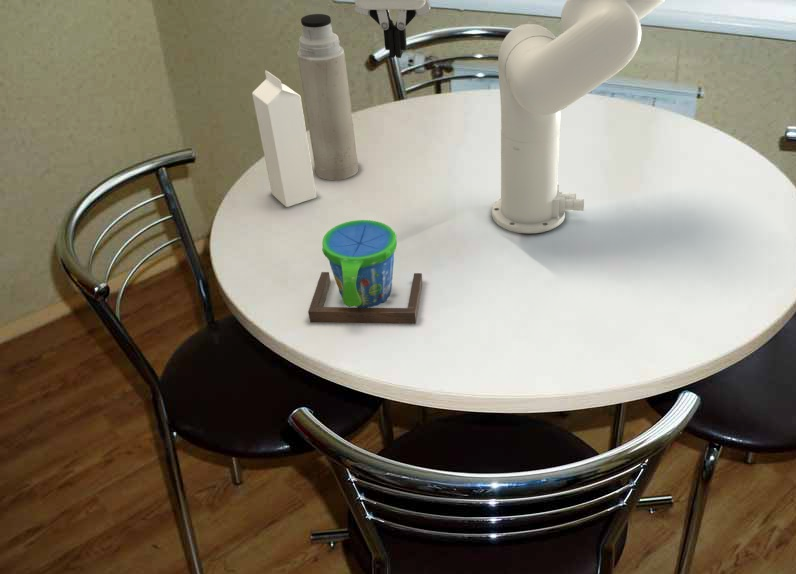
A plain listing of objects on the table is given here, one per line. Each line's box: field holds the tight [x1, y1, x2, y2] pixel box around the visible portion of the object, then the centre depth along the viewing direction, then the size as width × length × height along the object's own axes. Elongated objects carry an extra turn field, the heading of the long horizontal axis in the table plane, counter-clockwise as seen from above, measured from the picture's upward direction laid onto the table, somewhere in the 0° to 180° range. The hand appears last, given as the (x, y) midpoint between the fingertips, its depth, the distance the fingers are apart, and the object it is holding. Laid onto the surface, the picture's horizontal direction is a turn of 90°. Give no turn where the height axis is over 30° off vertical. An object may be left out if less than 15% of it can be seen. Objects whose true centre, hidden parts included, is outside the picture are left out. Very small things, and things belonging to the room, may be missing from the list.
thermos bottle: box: [296, 13, 359, 181], centre depth 148 cm, size 8×8×28 cm
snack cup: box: [321, 219, 398, 308], centre depth 123 cm, size 16×10×10 cm
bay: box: [307, 271, 424, 325], centre depth 124 cm, size 15×10×2 cm, turn 89°
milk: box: [251, 69, 317, 208], centre depth 143 cm, size 6×6×22 cm
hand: (396, 54), depth 123 cm, fingers closed
